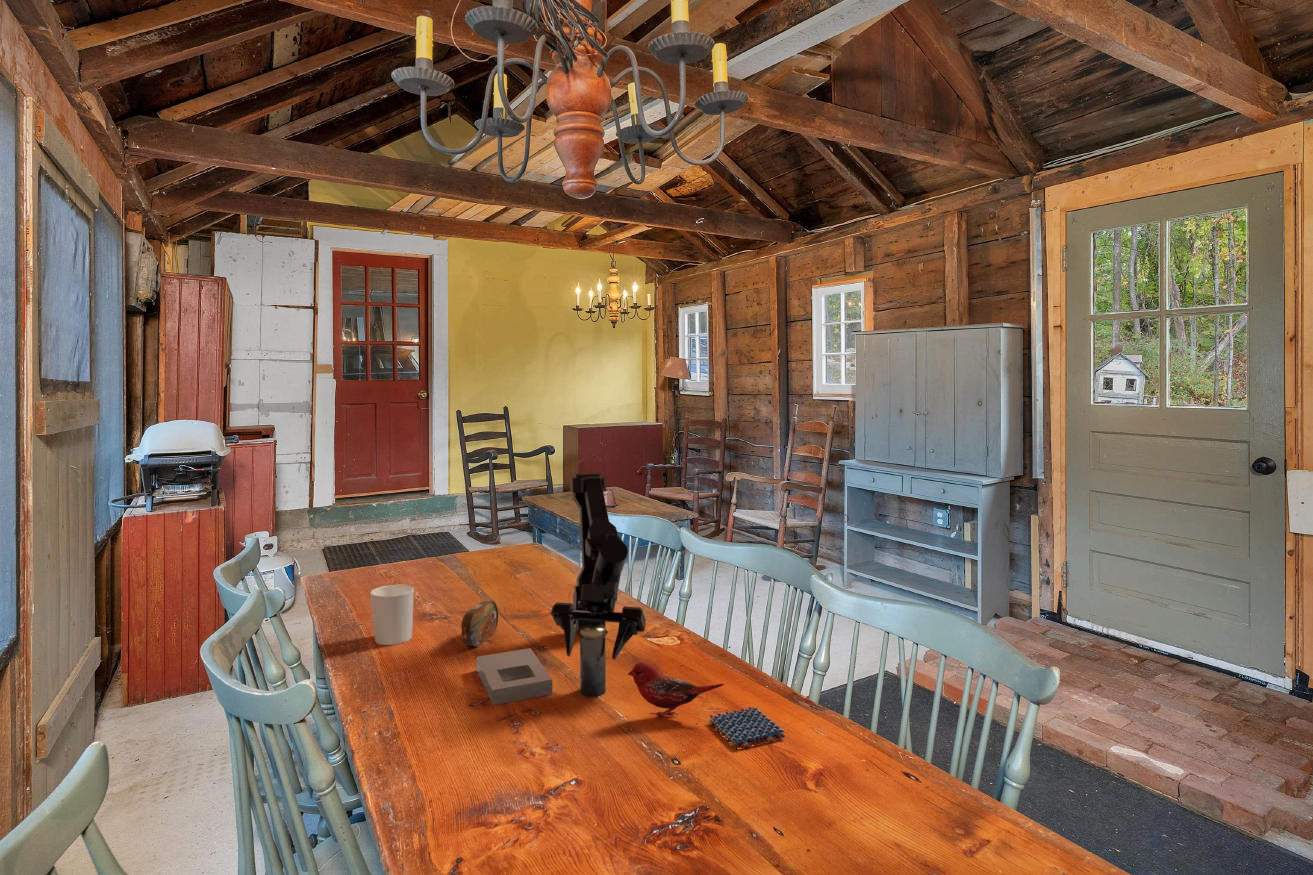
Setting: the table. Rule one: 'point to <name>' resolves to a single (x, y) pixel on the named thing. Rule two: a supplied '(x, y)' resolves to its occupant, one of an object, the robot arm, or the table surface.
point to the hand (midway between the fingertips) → (590, 656)
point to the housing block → (513, 676)
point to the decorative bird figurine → (665, 688)
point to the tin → (479, 623)
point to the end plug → (592, 659)
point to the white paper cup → (392, 613)
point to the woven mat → (747, 728)
